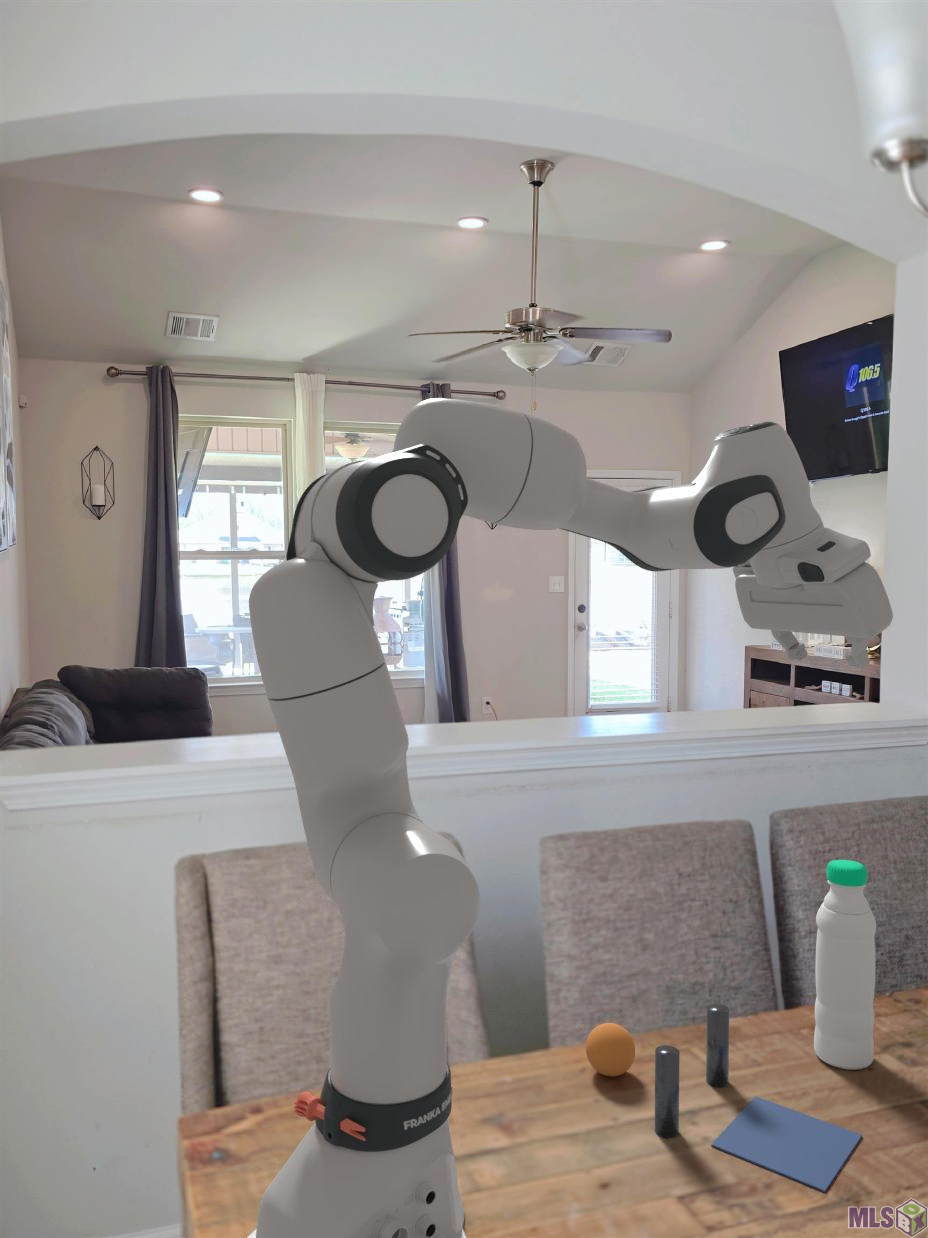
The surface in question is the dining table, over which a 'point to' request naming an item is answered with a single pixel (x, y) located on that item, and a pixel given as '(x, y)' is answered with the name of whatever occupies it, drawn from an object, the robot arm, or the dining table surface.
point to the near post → (667, 1091)
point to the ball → (610, 1049)
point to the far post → (717, 1045)
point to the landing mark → (788, 1143)
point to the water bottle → (845, 970)
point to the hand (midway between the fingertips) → (828, 662)
